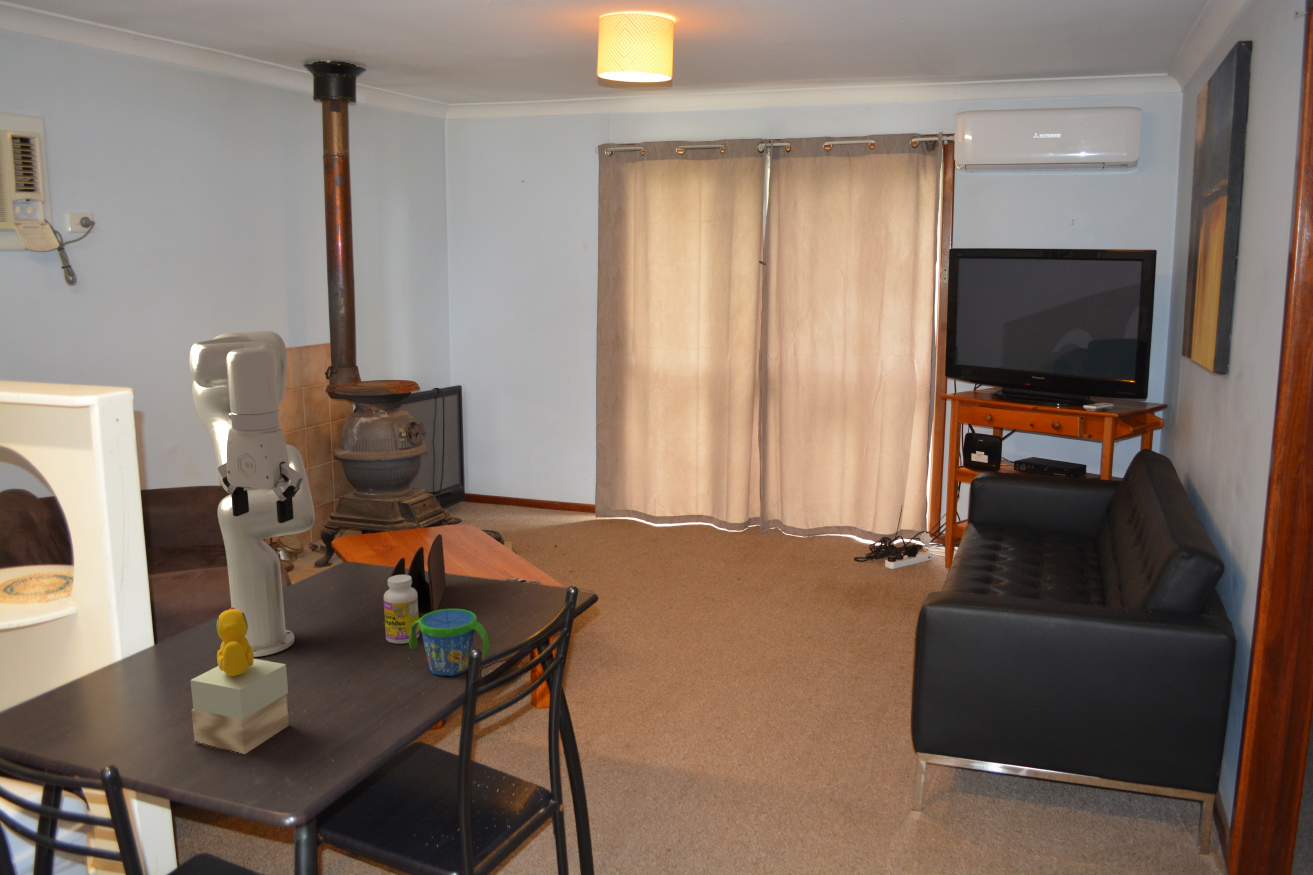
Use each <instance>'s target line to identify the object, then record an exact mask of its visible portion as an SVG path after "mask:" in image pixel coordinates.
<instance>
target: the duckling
mask: <svg viewBox="0 0 1313 875" xmlns="http://www.w3.org/2000/svg"><path fill="white" fill-rule="evenodd" d="M247 630H248V622H247V618H246V616H245V614H244V613H243V612H242V611H240V610H238V609H235V608H234V607H231V606H230V608H229V609H227V610H224V611H223V612H221V613H220V614H219V615H218V617H217V621H216V632H217V635H218V637H219V639H220V640H221V644H220V647H219V648H220V649H218V650H217V653H216V660H217V666H219V668H220V670H221V671H224V672H225V673H226V674H227V675H229V676H238V675H241V674H243V673H245V672H246V670H247V668H248V667H250V666H252V665H253V660H254V659H255V657H254V655H253V650H252V647H251V646H250V645H249V642H248V640H247V638H246V637H245V635H246V633H247Z"/></svg>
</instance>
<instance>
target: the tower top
mask: <svg viewBox="0 0 1313 875" xmlns="http://www.w3.org/2000/svg"><path fill="white" fill-rule="evenodd" d="M287 676H288V675H287V665H286V663H281V662H275V661H274V662H273V661H269V660H263V659H259V658H254V660H253V665H252V666H250V667H248V668H247V670H246V672H245V673H243V674H241V675H238V676H229V675H227V674H226V673H225V672H224V671H221V670H220V668H219V666H218V665H217V666H215V667H213V668H211V669H210V670H208V671H205V672H203V673H202V674H199V675H198V676H196V677H194V678H191V679H190V687H191V688H190V690H191V700H192V707H193V708H192V709H193V710H198V711H203V712H208V713H213V714H218V715H222V716H227V717H232V718H237V719H242V720H243V719H245V718H247V717H248V716H250V715H252V714H253V713H255V712H257V711H258V710H260V709H262V708H263V707H265V706H267V705H269V704H270V703H272V702H274V701H275V700H277V699H279V698H280V697H282V696H284V695H285V694H286V695H287V694H289V688H288V686H289V685H288V677H287Z"/></svg>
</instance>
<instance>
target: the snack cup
mask: <svg viewBox="0 0 1313 875" xmlns="http://www.w3.org/2000/svg"><path fill="white" fill-rule="evenodd" d="M477 618H478V617H477V615H476V614H475V613H474V612H472V611H470V610H467V609H463V608H443V609H437V611H433V612H430V613H427V614H425V615H424V616H422V617H421V618H419V619H418V620H417V621H416V622H414V623H413V625H412V626H411V629H410V633H409V643H408V645H409V648H410V650H415V649H417V647H418V645H419V640H418V638H417V636H416V633H415V632H416V627H417V624H419V632H420V633H422V634H421V635H422V639H423V645H424V650H425V654H426V660H427V664H428V668H429V671H430V672H431V673H432V674H433V675H438V676H448V677H449V676H450V677H454V676H455V675H460V674H462V673H464V672H467V671H468V670H467V666H468V658H469V655H470V653H471V652H472V653H473V646H474V645H473V644H474V636H475V631H476V632H477V634H478V637H480V639H481V640H482V652H483V655H484V658H486V656H487V655H488V653H489V651H490V645H491V644H490V639H489V636H488V633H487V631H486V628H485V626H483V625H482V623H480V622H479V621H478V619H477Z"/></svg>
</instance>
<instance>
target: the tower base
mask: <svg viewBox="0 0 1313 875" xmlns="http://www.w3.org/2000/svg"><path fill="white" fill-rule="evenodd" d="M287 697H288V696H287V694H285V695H284V696H282V697H280V698H279V699H277V700H275V701H274V702H272V703H270V704H269V705H267V706H265V707H263V708H262V709H260V710H258V711H257V712H255V713H253V714H252V715H250V716H248V717H247V718H245V719H243V720H242V719H237V718H232V717H227V716H222V715H218V714H213V713H208V712H203V711H198V710H193V708H192V709H191V710H190V711H191V720H192V730H193V738H194V742H195V741H198V742H200V743H205V744H208V745H211V746H216V747H219V748H222V749H228V750H232V751H235V752H234V753H236V752H239V753H238V754H241V753H242V755H245V754H248V753H249V752H250V751H253V749H255V748H257V747H258V746H260V745H261V744H263V743H265V741H267V740H268V739H269V740H270V738H272V737H274V736H275V735H276V734H278V733H279V732H281V731H282V730H284V729H286V728H288V727H289V725H290V723H289V722H290V721H289V711H288V702H287V701H288V698H287ZM222 749H221V750H222ZM232 751H231V752H232Z"/></svg>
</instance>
